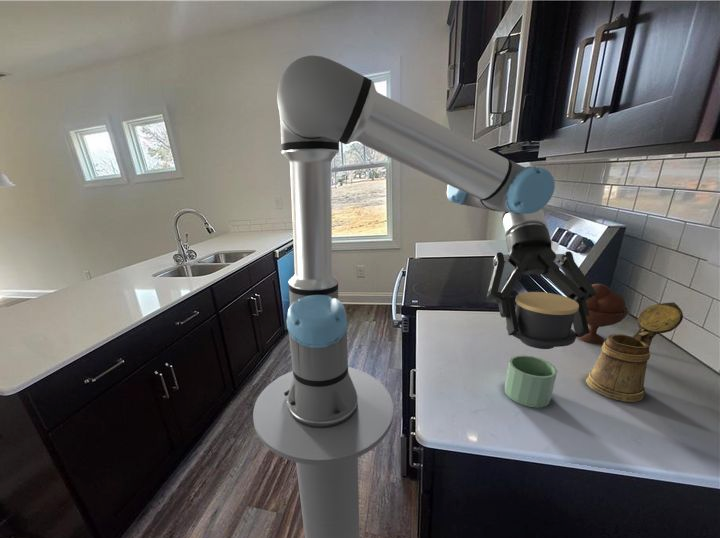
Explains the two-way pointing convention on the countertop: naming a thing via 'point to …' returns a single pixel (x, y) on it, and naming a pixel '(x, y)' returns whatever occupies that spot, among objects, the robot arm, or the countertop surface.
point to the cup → (530, 381)
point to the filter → (545, 319)
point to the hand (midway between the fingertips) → (547, 334)
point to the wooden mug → (631, 355)
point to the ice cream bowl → (603, 311)
